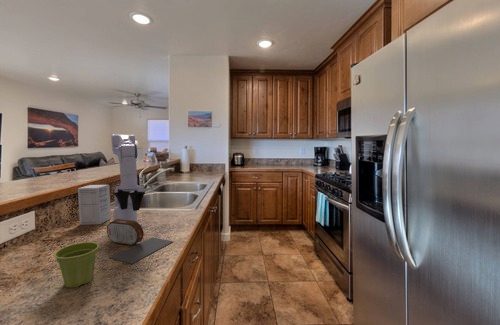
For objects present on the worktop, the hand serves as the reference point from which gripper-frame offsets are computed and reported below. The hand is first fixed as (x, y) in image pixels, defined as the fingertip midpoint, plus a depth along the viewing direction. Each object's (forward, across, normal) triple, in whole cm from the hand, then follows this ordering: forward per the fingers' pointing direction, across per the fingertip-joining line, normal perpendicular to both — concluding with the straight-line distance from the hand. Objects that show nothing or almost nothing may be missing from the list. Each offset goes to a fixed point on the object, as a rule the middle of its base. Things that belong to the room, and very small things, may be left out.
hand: (130, 209), depth 94 cm
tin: (+11, -4, +5) cm, 13 cm away
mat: (+12, -14, +5) cm, 19 cm away
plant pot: (+13, -16, +26) cm, 33 cm away
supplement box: (+8, +32, -4) cm, 33 cm away
